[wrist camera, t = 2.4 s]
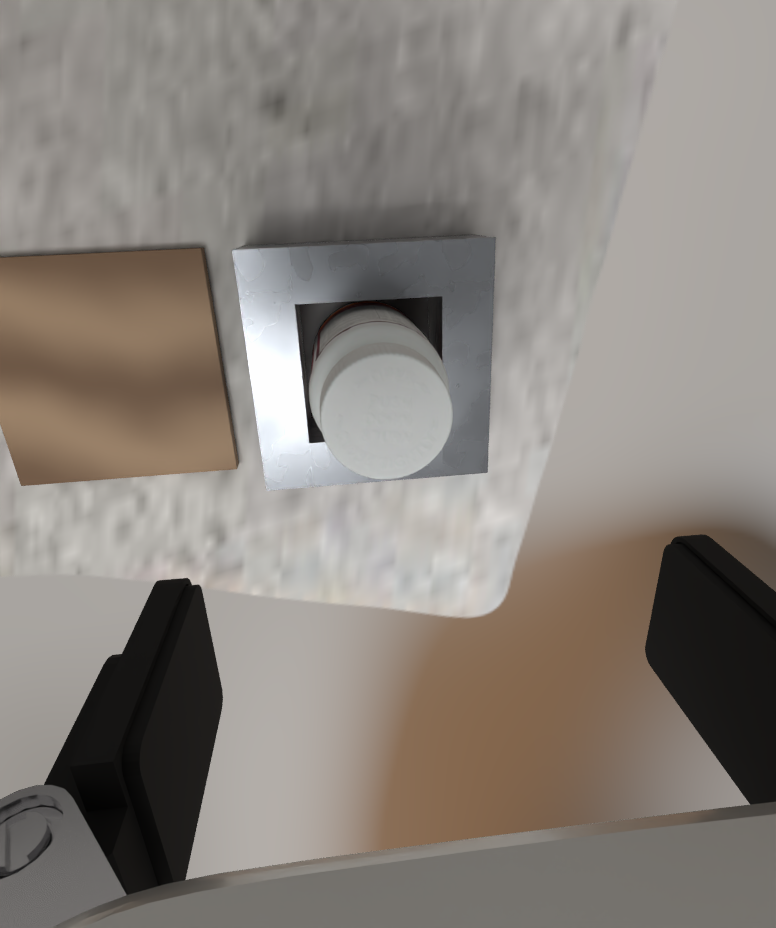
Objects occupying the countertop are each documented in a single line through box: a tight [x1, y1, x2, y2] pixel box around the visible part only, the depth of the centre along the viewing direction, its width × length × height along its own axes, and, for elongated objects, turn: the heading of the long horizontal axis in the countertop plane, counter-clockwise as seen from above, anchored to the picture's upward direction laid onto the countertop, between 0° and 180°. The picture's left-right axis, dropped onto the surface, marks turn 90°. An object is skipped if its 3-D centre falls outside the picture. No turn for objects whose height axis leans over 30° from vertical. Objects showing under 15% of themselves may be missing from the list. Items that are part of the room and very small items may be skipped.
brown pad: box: [0, 248, 239, 486], centre depth 30 cm, size 12×12×1 cm
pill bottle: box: [309, 301, 453, 479], centre depth 27 cm, size 6×6×11 cm
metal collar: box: [232, 235, 496, 491], centre depth 30 cm, size 12×12×4 cm
